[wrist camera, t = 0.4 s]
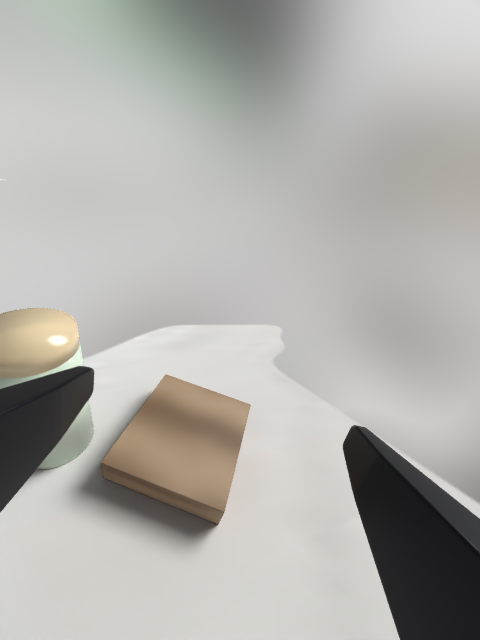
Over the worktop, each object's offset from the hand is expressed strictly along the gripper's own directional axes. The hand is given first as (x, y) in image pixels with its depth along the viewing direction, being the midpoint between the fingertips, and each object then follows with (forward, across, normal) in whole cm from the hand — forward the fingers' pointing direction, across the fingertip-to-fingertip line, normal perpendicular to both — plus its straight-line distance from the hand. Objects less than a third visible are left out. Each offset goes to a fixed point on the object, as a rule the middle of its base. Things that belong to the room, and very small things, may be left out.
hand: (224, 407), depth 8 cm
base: (+11, +2, +14) cm, 18 cm away
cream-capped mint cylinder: (+10, +13, +15) cm, 22 cm away
